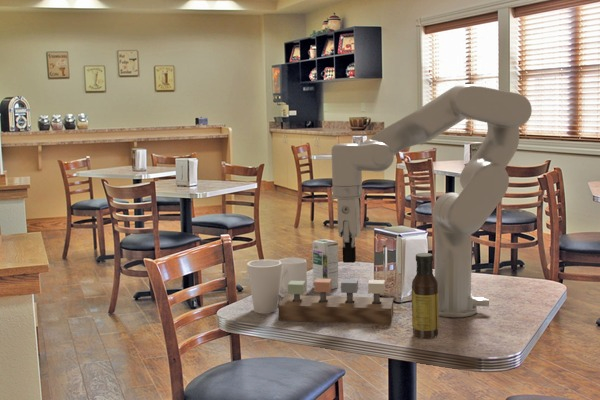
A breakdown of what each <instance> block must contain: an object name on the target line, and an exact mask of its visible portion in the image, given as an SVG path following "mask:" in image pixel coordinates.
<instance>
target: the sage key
mask: <svg viewBox="0 0 600 400" xmlns="http://www.w3.org/2000/svg"><path fill="white" fill-rule="evenodd" d="M305 291H306V285H305V281H290V282H289V283H288V294H294V302H300V294H304V292H305Z"/></svg>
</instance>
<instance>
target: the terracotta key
mask: <svg viewBox="0 0 600 400" xmlns="http://www.w3.org/2000/svg"><path fill="white" fill-rule="evenodd" d="M313 289H314V292H315V293H319V296H320V302H323V303H326V296H327V293H330V292H331V291H332V290H333V289H332V279H320V278H317V279H316V280H315V282H314V288H313Z"/></svg>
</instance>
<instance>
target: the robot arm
mask: <svg viewBox="0 0 600 400" xmlns="http://www.w3.org/2000/svg"><path fill="white" fill-rule="evenodd" d="M532 110H533V109H532V105H531V102H530V101H529V99H528V98H527V97H526V96H525V95H523V94H521V93H517V92H512V91H506V90H502V89H496V88H491V87H486V86H482V85H477V84H458V85H455V86H453V87H451V88H450V89H448V90H446V91H444V92H443V93H442V94H440V95H438V96H436V97H435V98H434V99H432V100H431V101H429V102H428V103H426V104H425V105H423V106H421V107H420V108H418V109H416V110H414V111H413V112H411V113H409V114H407V115H406V116H404V117H403V118H401V119H399V120H397V121H396V122H394V123H392V124H390V125H388V126H387V127H384V128H383V129H381V130H380V131H379V132H377V133H375V134H373V135H372V136H371V137H369V138H368V139H366V140H363V142H362V143H361V144H358V143H356V142H355V143H353V142H349V143H348V142H346V143H345V142H343V143H335V144H333V146H332V147H331V173H332V174H331V175H332V176H331V178H332V183H331V184H332V198H333V199H335V200H337V201H336V203H337V204H336V205H337V229H338V230H337V231H338V236H339V237H340V238H341V239H342V263H344V264H345V263H346V264H348V263H350V264H354V263H356V260H357V255H356V251H357V250H356V246H355V245H356V244H355V243H356V238H358V237H359V235H360V234H361V232H362V228H361V227H362V226H361V209H360V208H361V207H360V199H362V198H363V176H362V175H363V173H362V172H363V171H364V172H373V173H374V172H375V173H377V172H378V173H379V172H383V171H386V170H388V169H389V168H390V167H391V166H392V165H393V162H394V156H395V155H397V154H398V153H400V152H403V151H404V150H406V149H409V148H410V147H413V146H417V145H422V144H425V143H428V142H430V141H432V140H434V139H436V138H438V137H439V136H440V135H442V134H443V133H445V132H446V131H448V130H449V129H451V128H452V127H454V126H456V125H458V124H459V123H460V122H462V121H463V120H466V119H470V120H474V121H478V122H482V123H483V122H484V123H486V125H487V130H486V131H487V132H486V135H485V138H484V139H483V141H482V143H481V144H480V145H479V147H478V149H477V150H476V151H475V153H474V154H473V156H472V157H471V158H470V160H469V161H468V162H467V164H466V165H465V166H464V167H463V169H462V170H461V172H460V174H459V175H460V176H459V183H460V186H461V188H462V190H461V192H460V193H459V192H458V193H457V192H445V193H444V194H442V195H440V196H439V197H438V198H437V199H436V200H435V202H434V205H433V208H432V225H433V232H434V234H433V235H434V277H435V278H436V280H437V283H438V314H439V317H444V318H466V317H472V316H473V315H476V314H477V312H478V309H477V307H478V306H479V307H489V306H490V299H487V298H484V297H475V296H473V292H472V253H473V252H472V251H473V250H472V249H473V248H472V247H473V246H472V244H473V243H472V235H473V234H475V233H476V232H477V231H478V230H480V229H481V227H482V226H483V225H484V223H485V222H487V220H488V219H489V218H490V216H491V215H492V213H493V212H494V210H495V209H496V208H497V206H498V205H499V204H500V202H501V201H502V199H504V198H505V195H506V193H507V191H508V188H509V186H510V185H509V184H510V179H509V174H508V172H507V170H506V168H507V167H508V165H509V163H511V160H512V159H513V157H514V156H515V154H516V152H517V150H518V148H519V143H520V127H522V126H524V125H525V124H526V123H528V121H529V120H530V118H531V116H532V112H533V111H532Z"/></svg>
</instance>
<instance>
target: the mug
mask: <svg viewBox="0 0 600 400" xmlns="http://www.w3.org/2000/svg"><path fill="white" fill-rule="evenodd" d="M278 261H281V263H282V272H281V279H280V288H279V297H280V298H282V299H283V298H284V297H285V296H286V295H294V294H288V283H289V282H290V281H305V285H306V291H305V292H304V294H300V296H307V294H308V282H307V281H308V277H307V276H308V275H307V272H308V271H307V269H308V268H307V259H305V258H302V257H285V258H281V259H278Z"/></svg>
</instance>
